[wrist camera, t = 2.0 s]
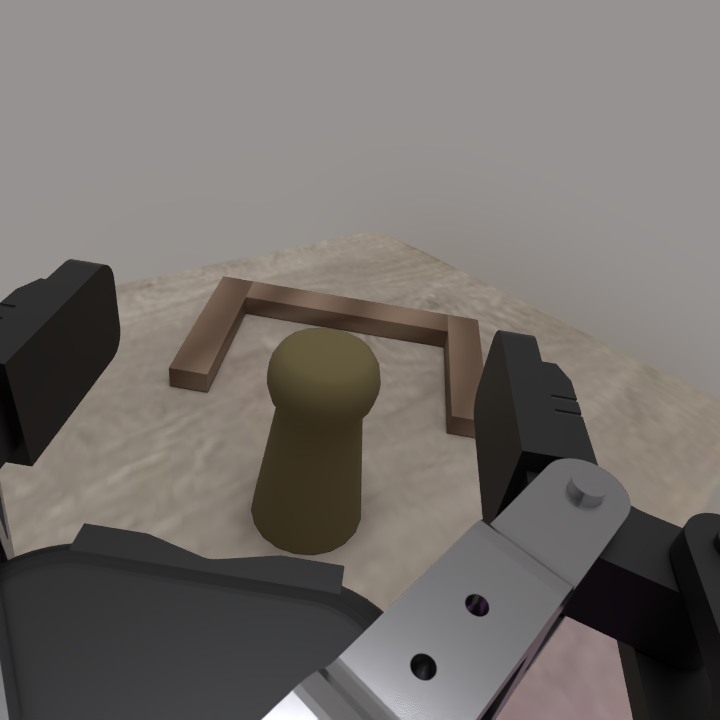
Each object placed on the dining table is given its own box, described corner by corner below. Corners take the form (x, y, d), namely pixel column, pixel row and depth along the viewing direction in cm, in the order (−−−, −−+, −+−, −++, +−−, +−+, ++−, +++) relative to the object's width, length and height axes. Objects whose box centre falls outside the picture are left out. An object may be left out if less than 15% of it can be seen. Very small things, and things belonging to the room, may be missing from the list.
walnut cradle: (170, 385, 39) (168, 367, 38) (223, 292, 49) (223, 276, 49) (484, 439, 39) (490, 422, 39) (473, 335, 50) (477, 319, 49)
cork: (236, 483, 34) (240, 320, 27) (332, 456, 36) (356, 302, 30) (275, 571, 30) (291, 404, 23) (380, 533, 32) (421, 374, 26)
